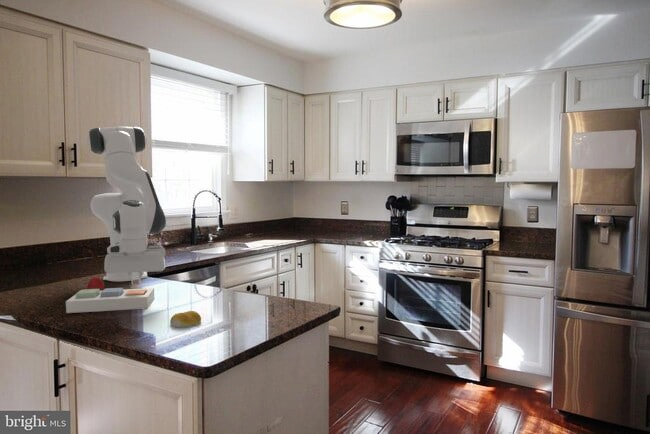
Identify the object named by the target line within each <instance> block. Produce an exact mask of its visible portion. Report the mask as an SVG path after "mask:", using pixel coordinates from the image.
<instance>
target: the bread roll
mask: <svg viewBox="0 0 650 434" xmlns="http://www.w3.org/2000/svg"><path fill="white" fill-rule="evenodd" d="M169 321H170V322H169V324H170V326H171V327H174V328H178V329H181V328H182V329H183V328H189V327H190V328H191V327H192V326H197V325H200V323H201V322H202V317H201V315H200V313H198V312H197V311H194V310H189V311H188V310H187V311H185V312H178V313H175V314H173V315H172V316H171V318H170V320H169ZM196 324H197V325H196Z"/></svg>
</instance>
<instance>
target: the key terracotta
mask: <svg viewBox="0 0 650 434" xmlns="http://www.w3.org/2000/svg"><path fill="white" fill-rule="evenodd" d="M143 289H144V290H129V291H128V292H127V293H126V294H125V296H132V295H145V293H146V292H147V290H146V289H145V288H143Z"/></svg>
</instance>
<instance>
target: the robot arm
mask: <svg viewBox="0 0 650 434" xmlns="http://www.w3.org/2000/svg"><path fill="white" fill-rule="evenodd" d="M86 139H87V140H86V141H87V145H88V147H89V148H90V151H91V152H92V153H94V154H97V155H102V154H104V169H105V179H106V181H107V183H108V184H109V185H111V186H112V187H114V188H117V189H118V190H120V191H121V192H106V193H105V192H104V193H101V194H95V195H94V196H93V197H92V199H91V200H90V210H91V212H92V214H93V215H94V216H95V217H97V218H98V219H100V220H101V221H102V222H103V223H104V224H105V226H106V227H107V230H108V234H109V240H110V241H109V243H110V245H109V246H108V247H106V251H107V254H106V255H105V258H104V264H103V265H104V267H103V268H104V272H105V273H106V275H105V276H103V278H102V281H103V280H104V281H110V282H130V283H131V286H133V285H135V286H136V285H141V284H142V279H146V278H147V279H148V273H151V272H152V273H153V272H163V271H164V270H165V269H166V259H165V257H166V249H165V248H166V247H164V246H162V245H157V244H156V245H149V238H148V235H151V234H152V235H153V234H154V235H155V234H157V235H158V234H160V233H161V232H162V231H163V230H164V229H165V228H166V226H167V219H166V215H165V212H164V210H163V208H162V205H161V203H160V201H159V198H158V195H157V192H156V189H155V186H154V184H153V181H152V179H151V176H150V174H149V172H148V170H146V169H144V168H143V167H142V166H141V165H140V163H139V161H138V159H137V153H140V152H142V151H144V150H145V149H146V146H147V143H148V142H147V140H148V138H147V135H146V134H145V131H144V130H143V129H142V128H141V127H138V126H133V127H132V126H124V125H123V126H122V125H121V126H119V125H118V126H107V127H101V128H100V127H94V128H92V129H90V130H89V132H88V135H87V138H86Z"/></svg>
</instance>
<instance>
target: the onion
mask: <svg viewBox="0 0 650 434" xmlns="http://www.w3.org/2000/svg"><path fill="white" fill-rule="evenodd" d="M86 289H100V291H103V290H104V289H105V283H104V281H103V279H101V278H100V277H98V275H97V274H95V275H94V277H92V278H91V279H90V280H89V281H88V283H87V288H86Z"/></svg>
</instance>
